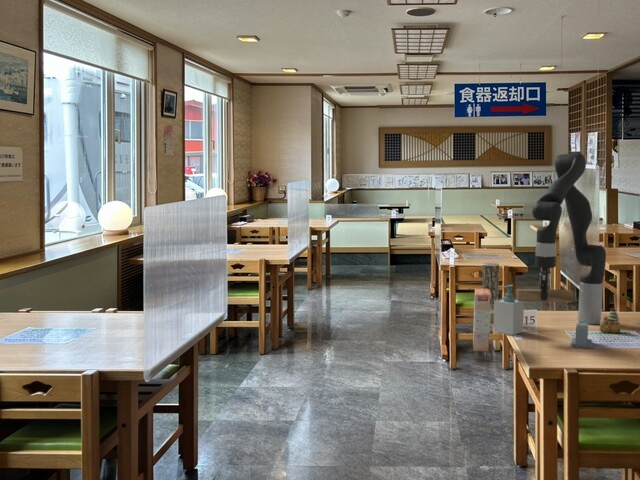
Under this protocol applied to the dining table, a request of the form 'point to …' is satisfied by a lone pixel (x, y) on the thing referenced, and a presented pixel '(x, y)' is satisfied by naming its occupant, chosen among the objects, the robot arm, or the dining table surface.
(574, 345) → the fulcrum ridge
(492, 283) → the bark textured block
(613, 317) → the ornament
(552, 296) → the walnut bar
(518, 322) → the soap bottle
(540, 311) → the dining table surface
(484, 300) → the cracker box
